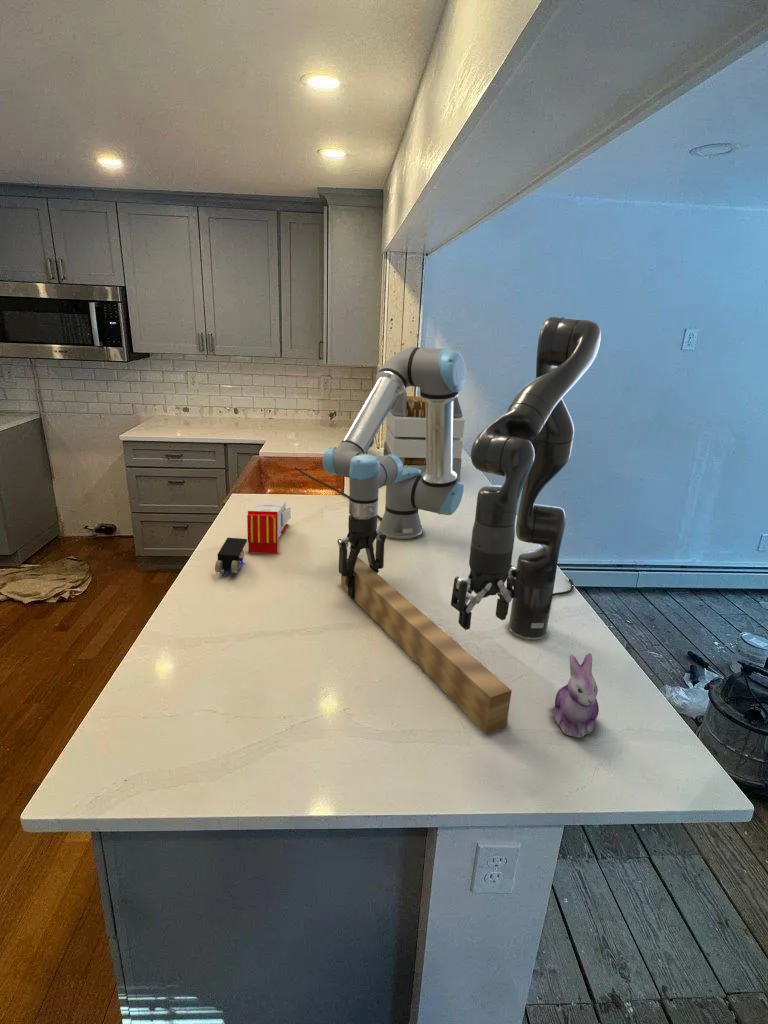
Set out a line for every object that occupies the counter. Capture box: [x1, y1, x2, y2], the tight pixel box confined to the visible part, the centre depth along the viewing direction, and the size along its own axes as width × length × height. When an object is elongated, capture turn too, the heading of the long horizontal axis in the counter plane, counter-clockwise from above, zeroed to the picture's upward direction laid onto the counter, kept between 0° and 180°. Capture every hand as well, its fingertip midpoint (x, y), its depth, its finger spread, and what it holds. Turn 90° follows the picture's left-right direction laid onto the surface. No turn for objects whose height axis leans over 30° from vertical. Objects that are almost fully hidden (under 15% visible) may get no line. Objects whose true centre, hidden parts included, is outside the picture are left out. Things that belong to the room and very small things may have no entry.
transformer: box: [383, 389, 465, 482], centre depth 268 cm, size 34×33×41 cm
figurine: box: [553, 652, 600, 738], centre depth 108 cm, size 9×10×15 cm
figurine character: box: [214, 537, 248, 578], centre depth 166 cm, size 7×8×15 cm
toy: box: [246, 500, 292, 554], centre depth 190 cm, size 12×13×30 cm
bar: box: [340, 556, 513, 735], centre depth 134 cm, size 66×5×8 cm, turn 29°
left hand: (360, 594), depth 156 cm, fingers closed on bar, 5 cm apart
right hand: (482, 622), depth 107 cm, fingers open, 8 cm apart
